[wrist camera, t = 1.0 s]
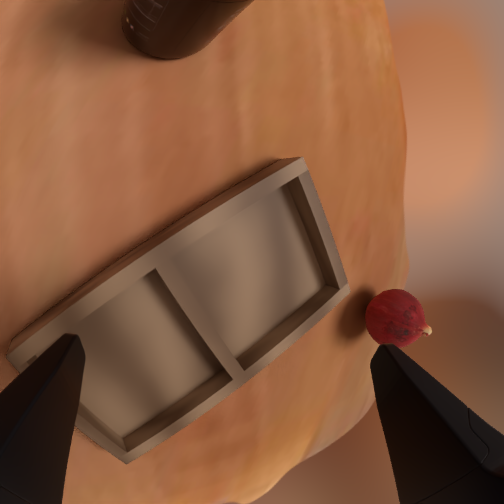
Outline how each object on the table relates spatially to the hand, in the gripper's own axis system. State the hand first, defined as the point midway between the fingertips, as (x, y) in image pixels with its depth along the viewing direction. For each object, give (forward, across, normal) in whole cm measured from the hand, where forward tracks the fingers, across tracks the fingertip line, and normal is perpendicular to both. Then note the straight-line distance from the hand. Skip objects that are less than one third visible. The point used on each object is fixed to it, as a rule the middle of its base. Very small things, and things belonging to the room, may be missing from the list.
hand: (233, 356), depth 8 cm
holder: (+10, +2, +8) cm, 13 cm away
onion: (+17, -16, +13) cm, 26 cm away
